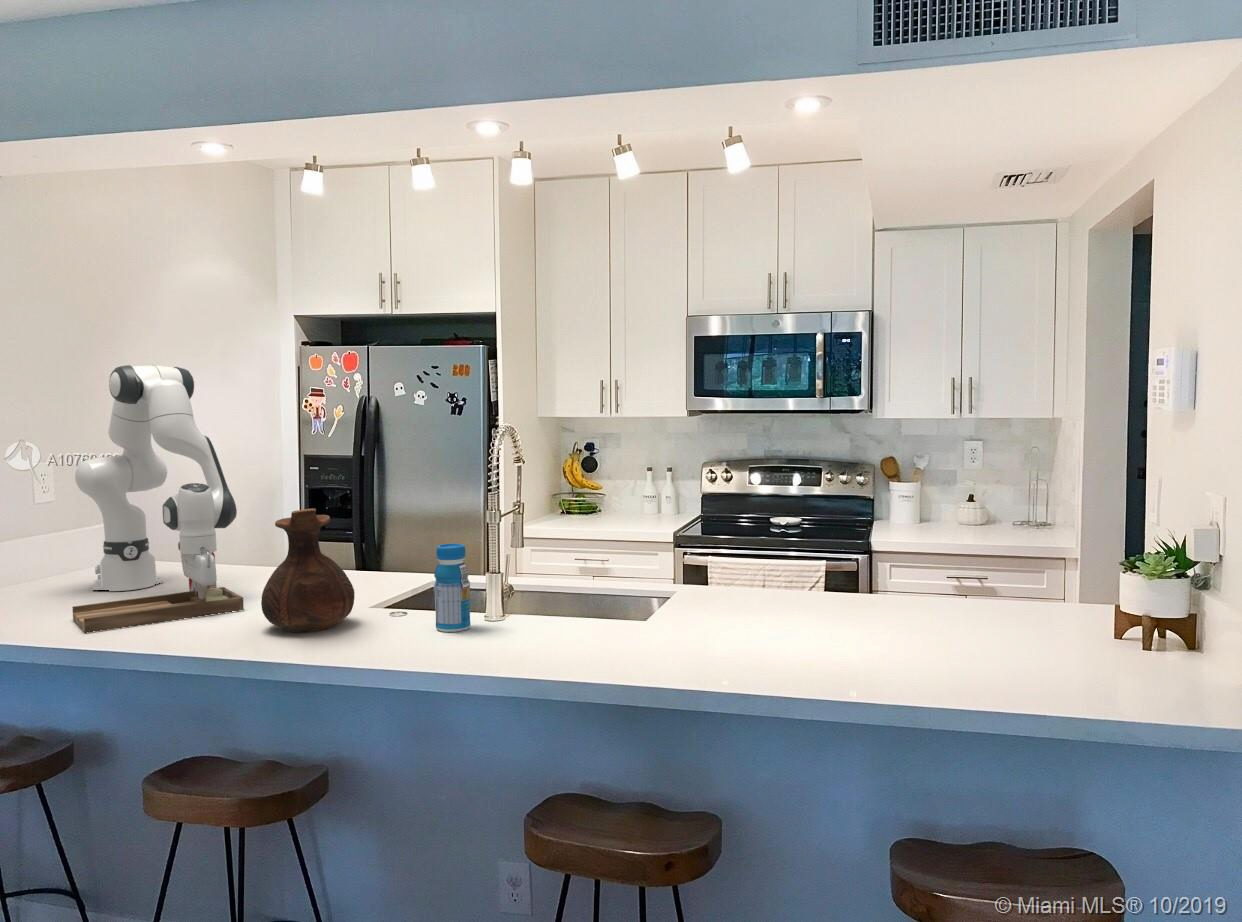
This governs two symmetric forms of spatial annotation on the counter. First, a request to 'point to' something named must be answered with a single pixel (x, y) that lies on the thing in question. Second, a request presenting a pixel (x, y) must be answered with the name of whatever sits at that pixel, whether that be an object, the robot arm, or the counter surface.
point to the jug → (306, 580)
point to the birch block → (213, 594)
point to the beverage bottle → (452, 589)
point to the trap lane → (152, 610)
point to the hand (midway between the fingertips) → (200, 597)
